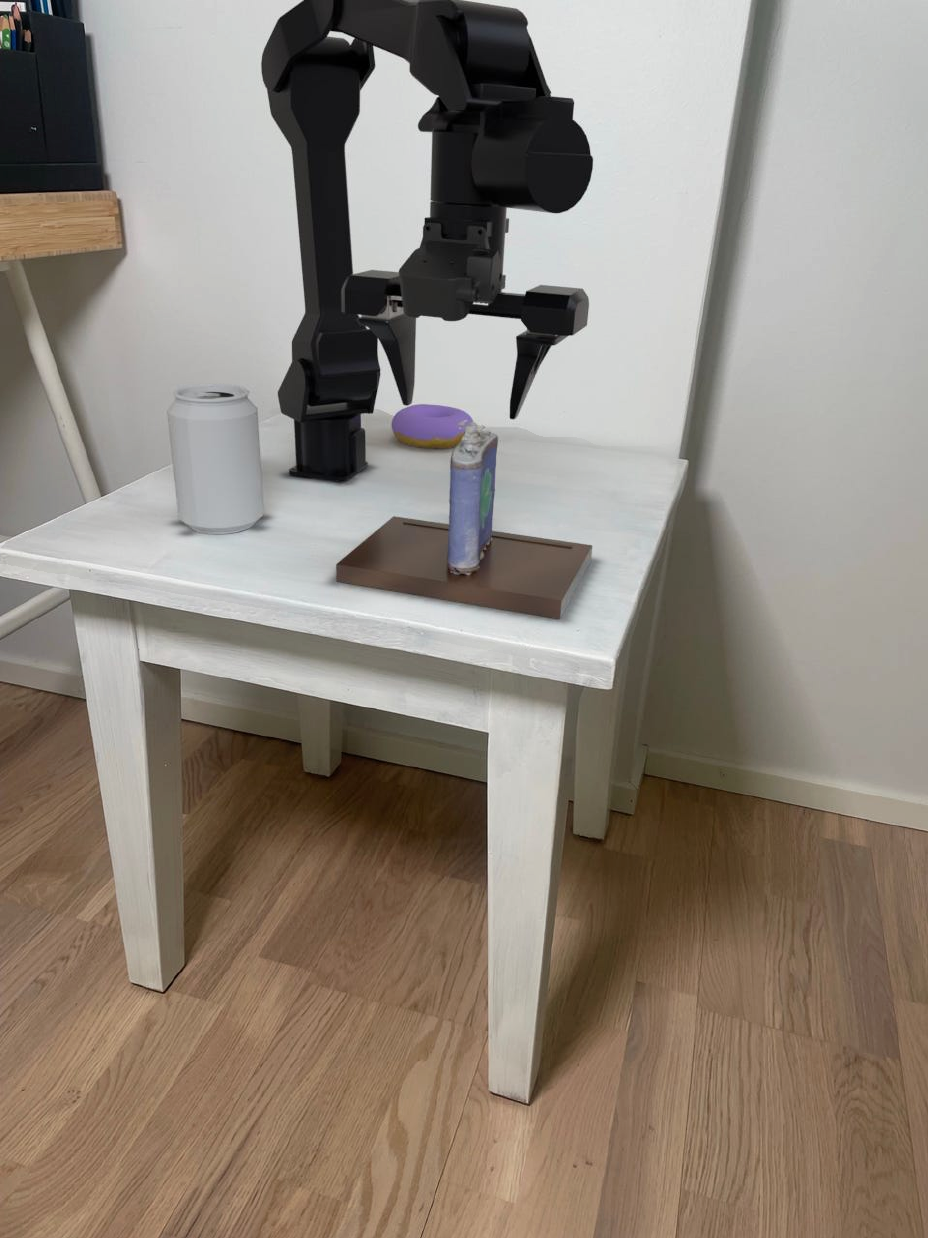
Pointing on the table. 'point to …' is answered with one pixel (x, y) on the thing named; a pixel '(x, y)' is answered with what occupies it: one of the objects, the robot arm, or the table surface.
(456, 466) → the flask
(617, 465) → the table surface
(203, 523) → the can
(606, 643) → the table surface
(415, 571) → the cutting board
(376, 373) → the robot arm
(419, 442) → the donut
